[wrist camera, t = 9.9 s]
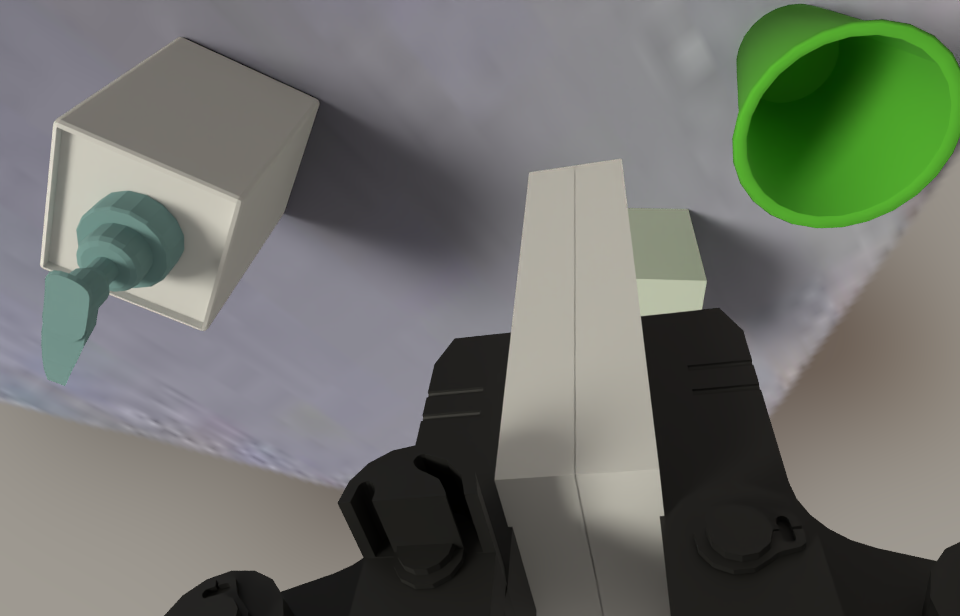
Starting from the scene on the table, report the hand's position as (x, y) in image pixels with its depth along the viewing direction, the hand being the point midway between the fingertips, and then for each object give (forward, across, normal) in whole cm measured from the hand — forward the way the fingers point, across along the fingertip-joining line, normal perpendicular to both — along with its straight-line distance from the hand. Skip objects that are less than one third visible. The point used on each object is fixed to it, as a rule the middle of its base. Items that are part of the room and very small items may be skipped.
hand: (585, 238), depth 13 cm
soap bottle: (+31, -22, -7) cm, 38 cm away
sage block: (+31, +1, -19) cm, 36 cm away
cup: (+31, +10, -8) cm, 33 cm away
